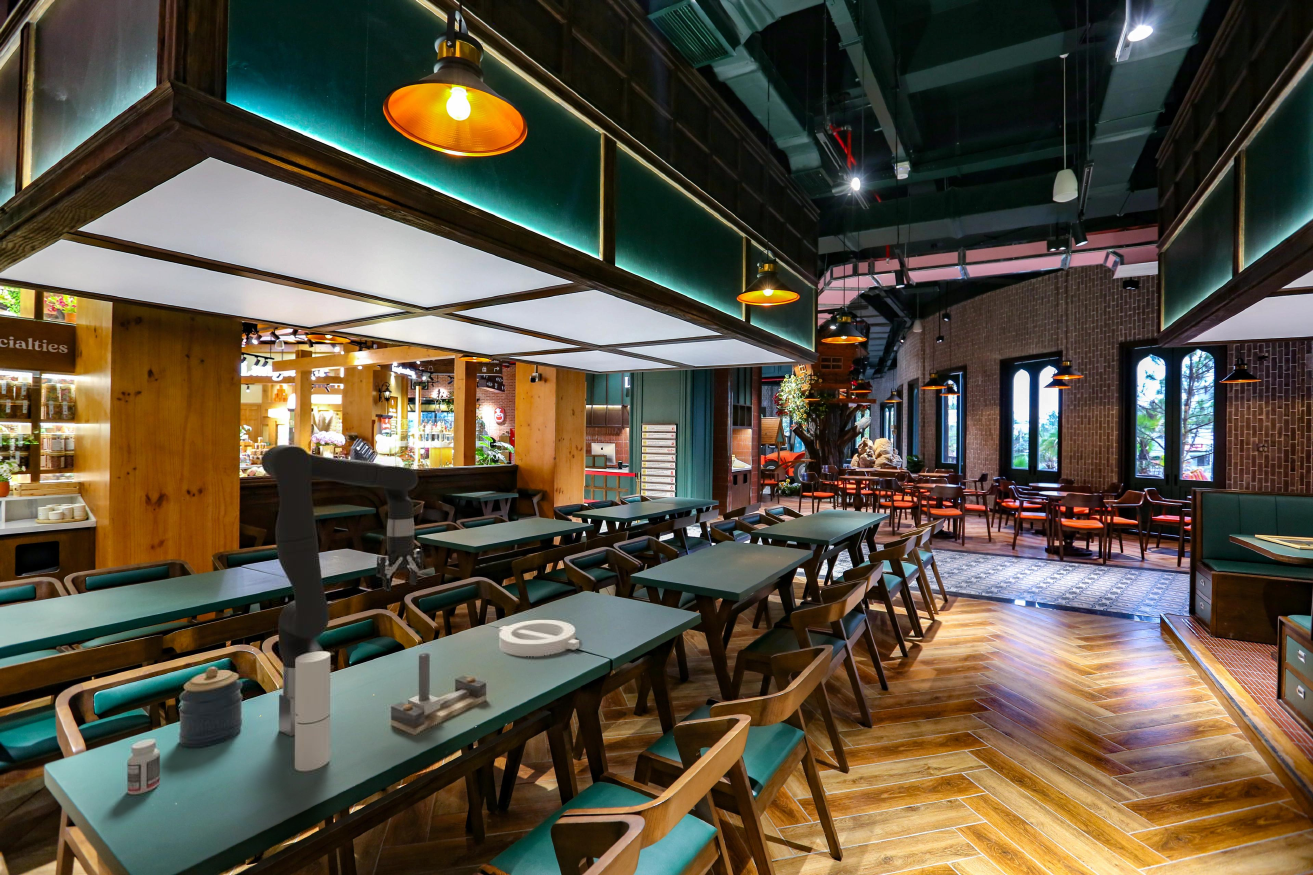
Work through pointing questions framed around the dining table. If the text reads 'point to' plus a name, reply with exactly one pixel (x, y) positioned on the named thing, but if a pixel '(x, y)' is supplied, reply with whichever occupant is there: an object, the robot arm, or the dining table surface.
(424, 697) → the carriage
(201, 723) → the canister
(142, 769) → the pill bottle
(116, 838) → the dining table surface
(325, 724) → the cylindrical container
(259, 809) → the dining table surface
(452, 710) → the rail
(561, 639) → the white circle with bar
